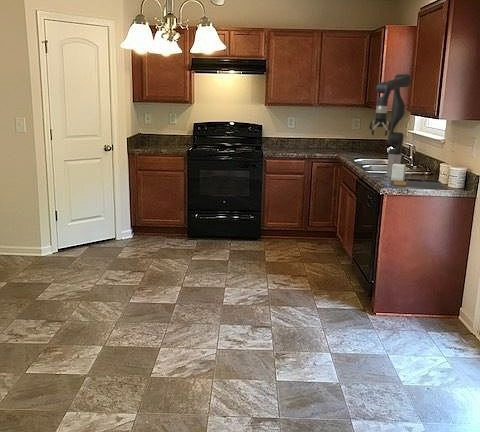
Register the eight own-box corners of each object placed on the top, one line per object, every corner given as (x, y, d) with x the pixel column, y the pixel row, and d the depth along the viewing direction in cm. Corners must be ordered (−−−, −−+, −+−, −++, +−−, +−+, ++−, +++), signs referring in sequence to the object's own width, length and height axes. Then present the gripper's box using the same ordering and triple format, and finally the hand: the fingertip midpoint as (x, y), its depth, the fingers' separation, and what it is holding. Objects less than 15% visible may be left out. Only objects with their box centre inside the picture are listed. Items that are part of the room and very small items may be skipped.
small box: (404, 183, 356) (406, 164, 353) (402, 184, 351) (404, 165, 347) (392, 181, 360) (394, 163, 357) (390, 183, 354) (392, 164, 351)
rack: (388, 183, 362) (388, 177, 361) (437, 185, 358) (437, 179, 357) (390, 186, 350) (391, 180, 349) (441, 188, 346) (442, 183, 345)
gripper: (390, 112, 362) (388, 135, 366) (370, 111, 363) (368, 134, 367) (392, 112, 354) (390, 136, 358) (371, 112, 356) (369, 135, 360)
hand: (379, 135), depth 363 cm, fingers open, 8 cm apart
